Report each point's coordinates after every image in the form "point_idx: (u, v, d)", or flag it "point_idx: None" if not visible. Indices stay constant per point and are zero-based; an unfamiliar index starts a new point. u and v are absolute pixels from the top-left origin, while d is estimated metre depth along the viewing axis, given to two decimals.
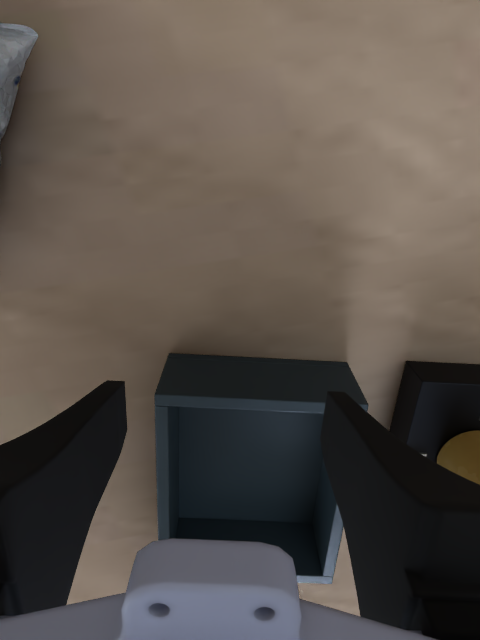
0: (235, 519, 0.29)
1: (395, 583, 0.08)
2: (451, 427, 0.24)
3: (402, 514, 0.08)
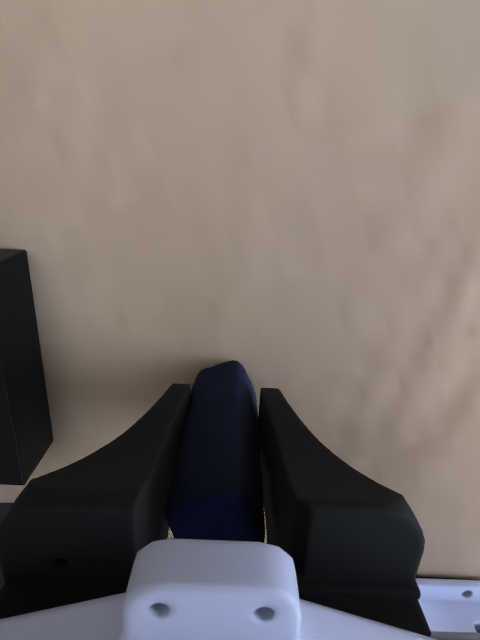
0: None
1: None
2: None
3: (288, 509, 0.08)
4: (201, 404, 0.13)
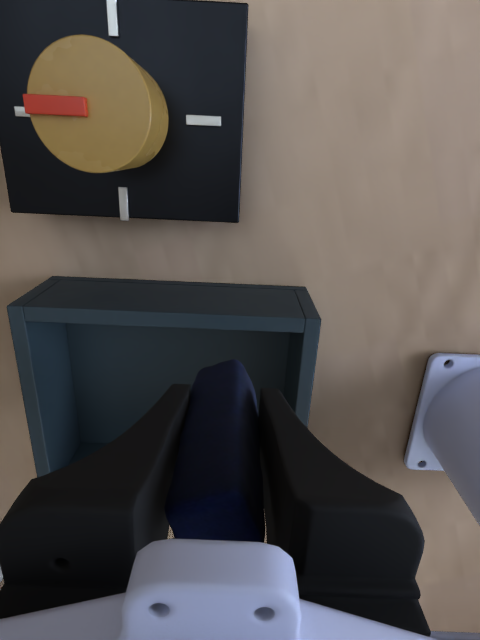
0: (283, 392, 0.24)
1: None
2: None
3: (288, 509, 0.08)
4: (201, 402, 0.13)
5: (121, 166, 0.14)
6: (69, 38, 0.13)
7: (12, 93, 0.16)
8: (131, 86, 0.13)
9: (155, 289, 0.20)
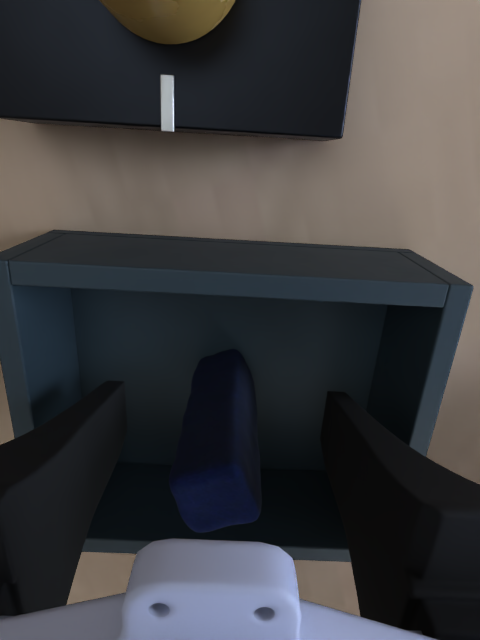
0: (367, 397, 0.17)
1: (395, 583, 0.08)
2: (88, 22, 0.11)
3: (402, 514, 0.08)
4: (202, 387, 0.14)
5: None
6: None
7: None
8: None
9: (204, 246, 0.14)
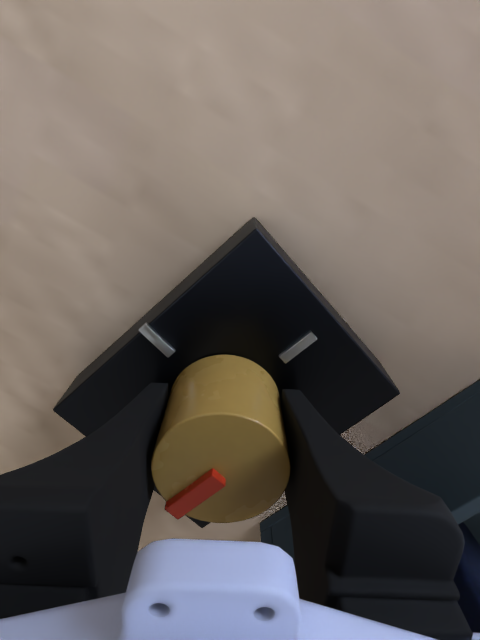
0: None
1: (319, 580, 0.08)
2: None
3: (325, 511, 0.08)
4: None
5: (284, 489, 0.12)
6: (163, 440, 0.11)
7: None
8: (241, 430, 0.11)
9: None
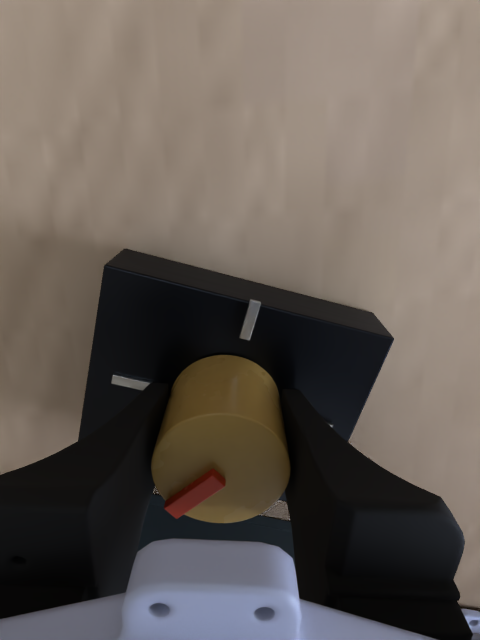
0: None
1: (319, 580, 0.08)
2: None
3: (325, 511, 0.08)
4: None
5: (283, 490, 0.12)
6: (164, 439, 0.11)
7: (114, 361, 0.14)
8: (243, 431, 0.11)
9: (206, 532, 0.19)
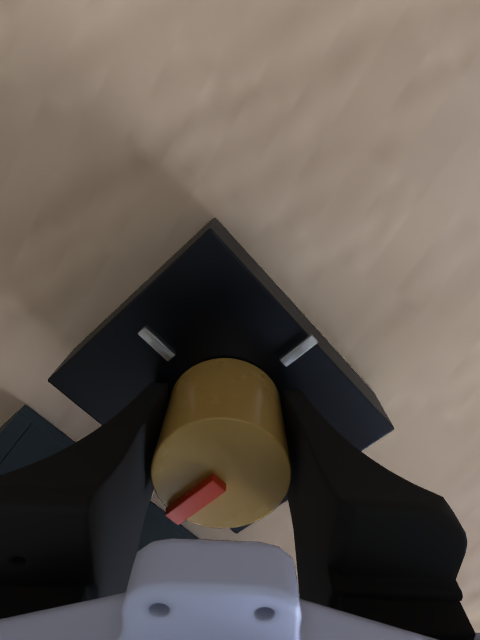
0: None
1: (322, 580, 0.08)
2: None
3: (327, 511, 0.08)
4: None
5: (285, 494, 0.12)
6: (162, 445, 0.11)
7: (154, 315, 0.14)
8: (241, 435, 0.11)
9: None
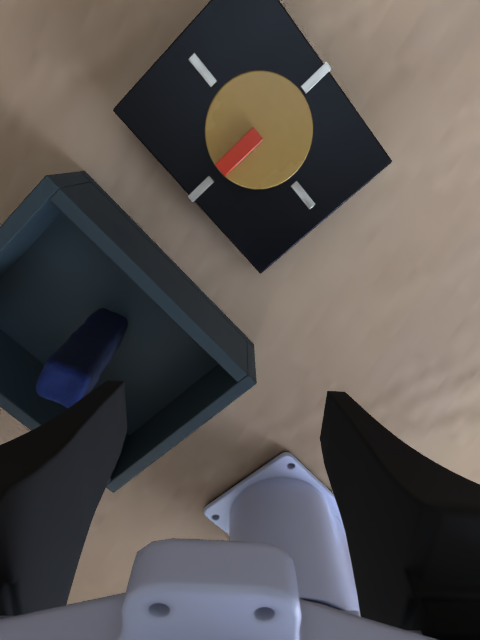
0: (172, 399, 0.26)
1: (395, 583, 0.08)
2: (197, 125, 0.18)
3: (402, 514, 0.08)
4: (94, 326, 0.21)
5: (307, 152, 0.15)
6: (215, 98, 0.15)
7: (202, 43, 0.17)
8: (276, 88, 0.15)
9: (158, 258, 0.21)
